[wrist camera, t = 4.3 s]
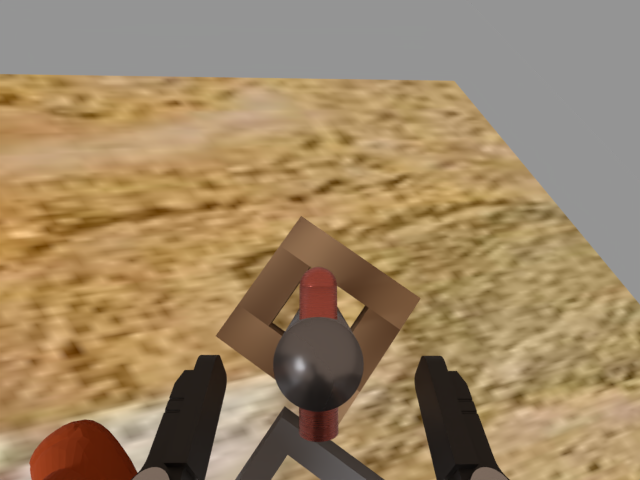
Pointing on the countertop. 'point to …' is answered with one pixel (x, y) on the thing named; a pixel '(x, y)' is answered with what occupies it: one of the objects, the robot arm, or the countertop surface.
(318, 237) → the frame
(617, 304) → the countertop surface
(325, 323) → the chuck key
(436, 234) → the countertop surface
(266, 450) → the socket
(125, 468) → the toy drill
